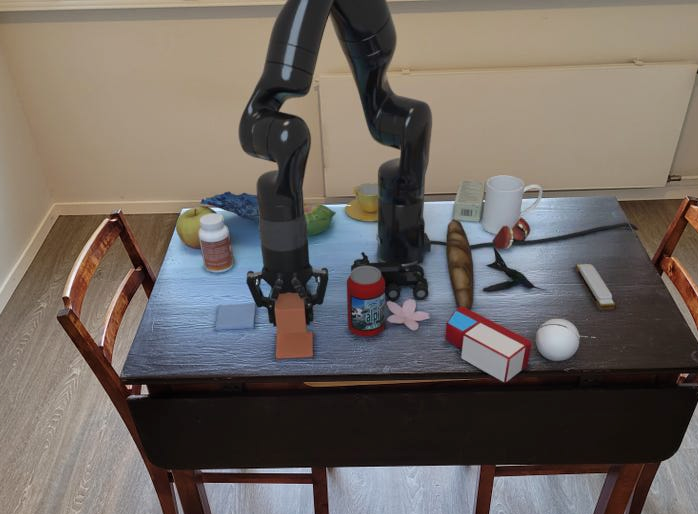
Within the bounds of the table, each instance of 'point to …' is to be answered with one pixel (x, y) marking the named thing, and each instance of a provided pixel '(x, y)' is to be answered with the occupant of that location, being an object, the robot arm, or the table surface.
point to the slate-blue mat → (236, 317)
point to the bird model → (511, 273)
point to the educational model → (317, 218)
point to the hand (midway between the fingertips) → (291, 322)
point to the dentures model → (512, 234)
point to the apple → (191, 225)
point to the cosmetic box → (469, 200)
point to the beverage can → (366, 301)
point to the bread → (460, 264)
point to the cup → (364, 203)
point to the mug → (505, 202)
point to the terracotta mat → (294, 345)
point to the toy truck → (488, 344)
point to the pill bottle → (215, 243)
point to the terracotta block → (290, 314)
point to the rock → (236, 204)
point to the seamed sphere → (557, 339)
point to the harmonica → (595, 286)
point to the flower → (406, 314)
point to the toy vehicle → (398, 277)
